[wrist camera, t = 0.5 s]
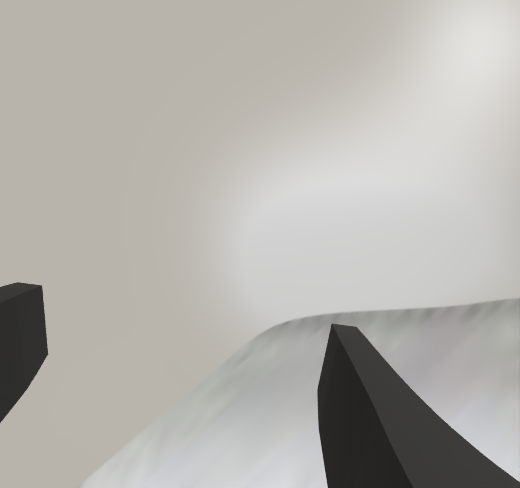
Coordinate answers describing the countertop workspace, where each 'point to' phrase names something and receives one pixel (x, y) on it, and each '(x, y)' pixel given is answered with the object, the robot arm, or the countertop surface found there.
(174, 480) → the countertop surface
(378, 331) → the countertop surface
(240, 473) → the countertop surface
